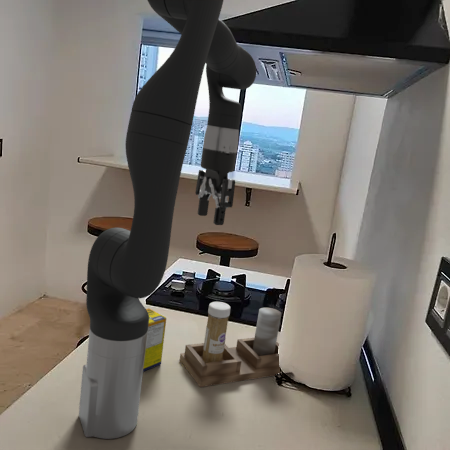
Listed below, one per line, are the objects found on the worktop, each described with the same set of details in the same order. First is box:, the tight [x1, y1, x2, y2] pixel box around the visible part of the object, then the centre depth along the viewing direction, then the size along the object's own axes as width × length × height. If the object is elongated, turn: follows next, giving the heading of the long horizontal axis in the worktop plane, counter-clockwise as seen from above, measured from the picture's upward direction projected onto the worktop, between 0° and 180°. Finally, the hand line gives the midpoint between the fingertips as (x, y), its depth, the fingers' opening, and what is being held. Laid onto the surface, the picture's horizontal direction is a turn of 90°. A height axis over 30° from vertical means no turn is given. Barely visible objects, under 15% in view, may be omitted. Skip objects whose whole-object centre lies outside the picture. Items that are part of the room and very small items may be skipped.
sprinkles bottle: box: [202, 301, 231, 363], centre depth 98 cm, size 5×5×14 cm
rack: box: [179, 307, 282, 388], centre depth 101 cm, size 23×11×12 cm, turn 118°
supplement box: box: [143, 308, 167, 373], centre depth 97 cm, size 6×6×11 cm
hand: (210, 219), depth 105 cm, fingers open, 8 cm apart
